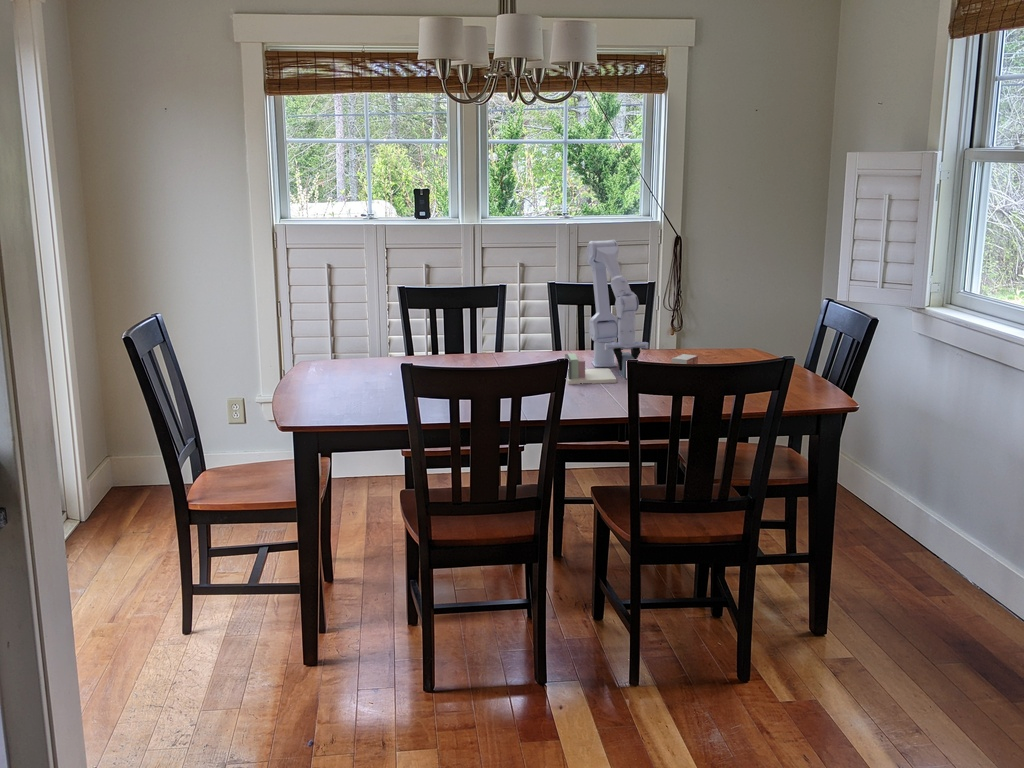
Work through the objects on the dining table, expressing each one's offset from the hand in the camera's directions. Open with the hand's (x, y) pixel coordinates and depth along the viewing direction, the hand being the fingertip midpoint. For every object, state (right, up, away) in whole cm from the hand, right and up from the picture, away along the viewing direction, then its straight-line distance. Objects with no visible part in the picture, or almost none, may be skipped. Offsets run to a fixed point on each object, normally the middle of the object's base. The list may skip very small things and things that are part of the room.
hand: (626, 369), depth 335 cm
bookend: (-20, -2, -3) cm, 20 cm away
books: (-17, -2, -3) cm, 18 cm away
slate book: (0, -2, +1) cm, 2 cm away
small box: (+16, -7, -19) cm, 26 cm away
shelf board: (-13, -3, -2) cm, 13 cm away
